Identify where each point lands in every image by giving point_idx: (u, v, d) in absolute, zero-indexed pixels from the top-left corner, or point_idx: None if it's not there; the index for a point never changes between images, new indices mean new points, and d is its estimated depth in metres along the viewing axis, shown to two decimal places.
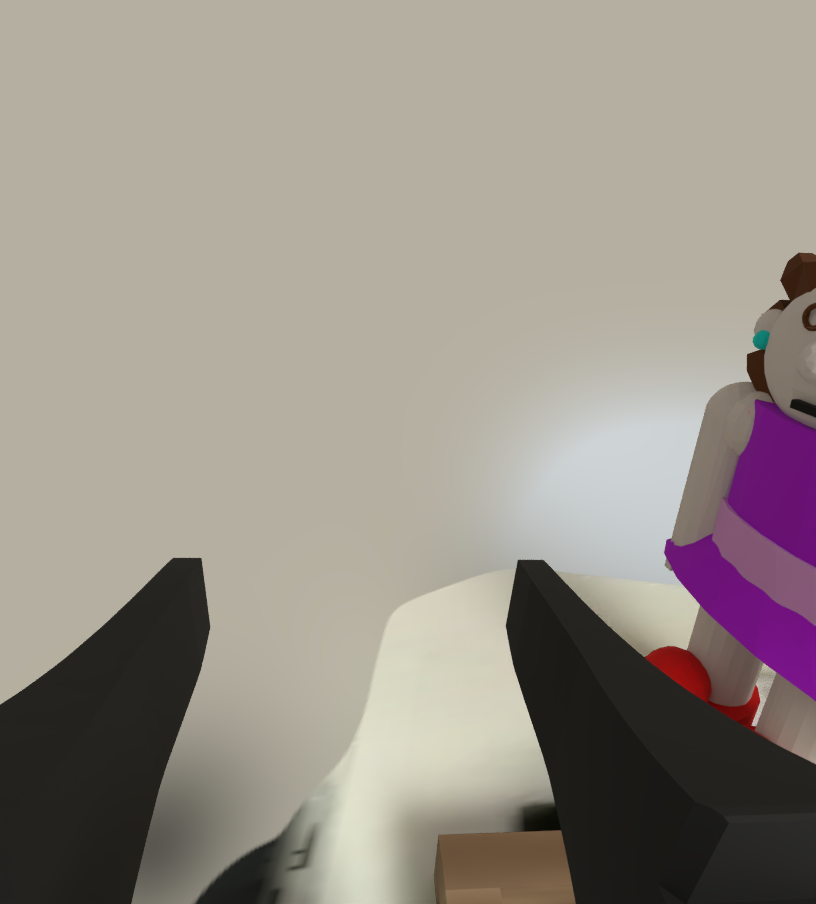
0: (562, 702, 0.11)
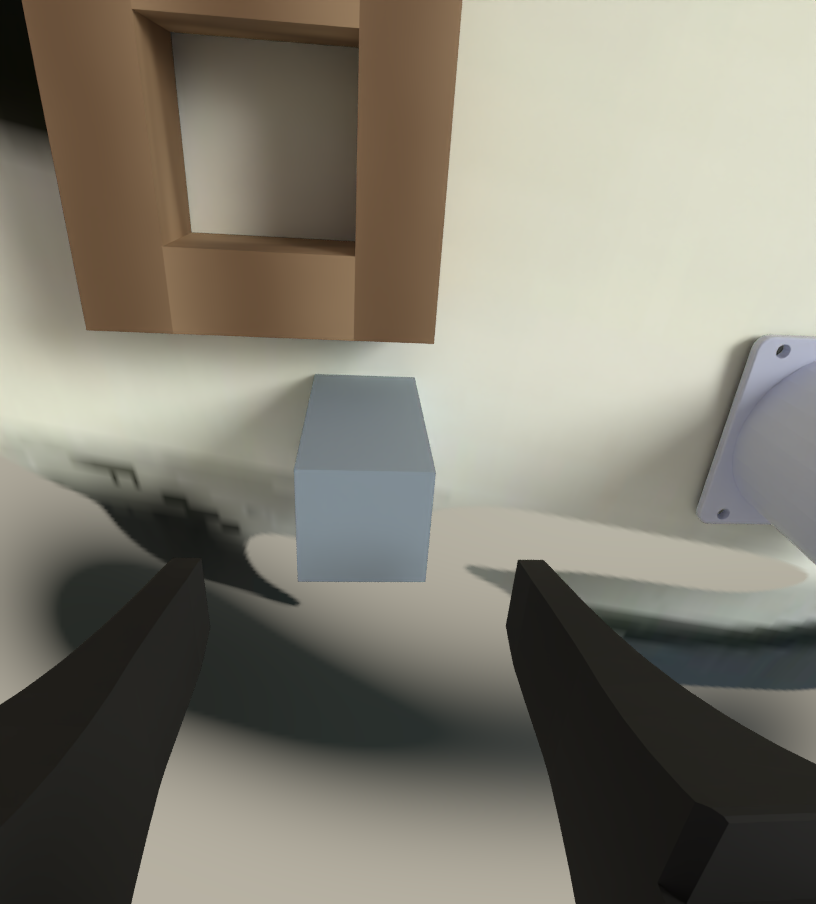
0: (562, 702, 0.11)
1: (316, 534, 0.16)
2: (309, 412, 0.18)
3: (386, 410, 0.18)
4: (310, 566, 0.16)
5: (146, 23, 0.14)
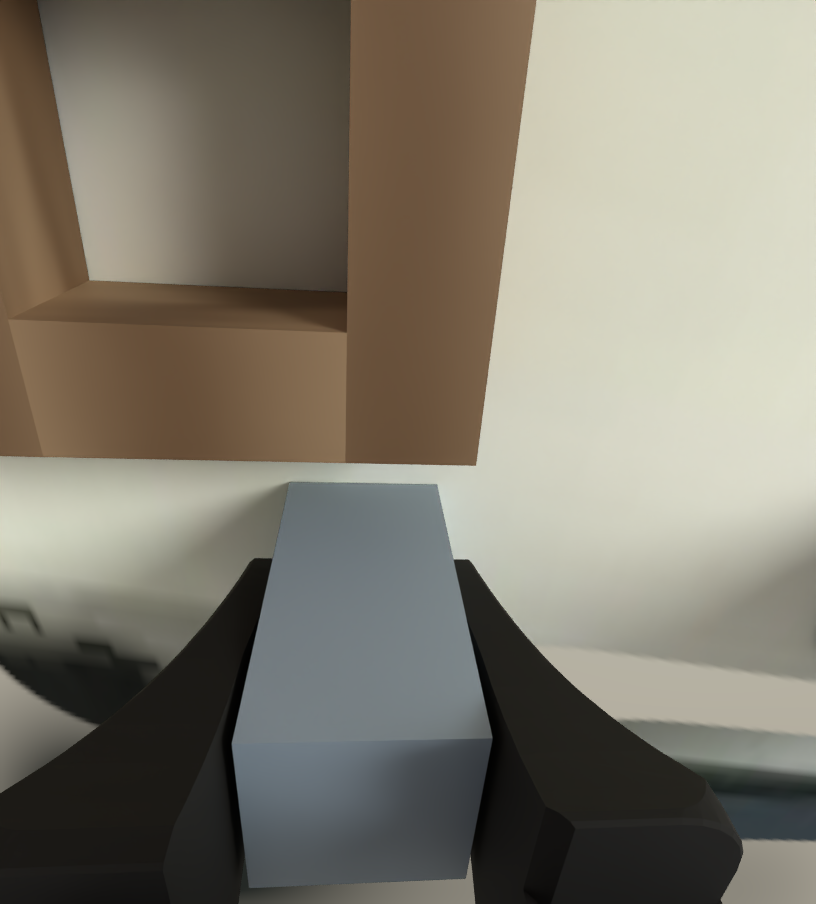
0: None
1: (278, 829, 0.09)
2: (274, 573, 0.11)
3: (397, 563, 0.12)
4: (269, 868, 0.09)
5: None
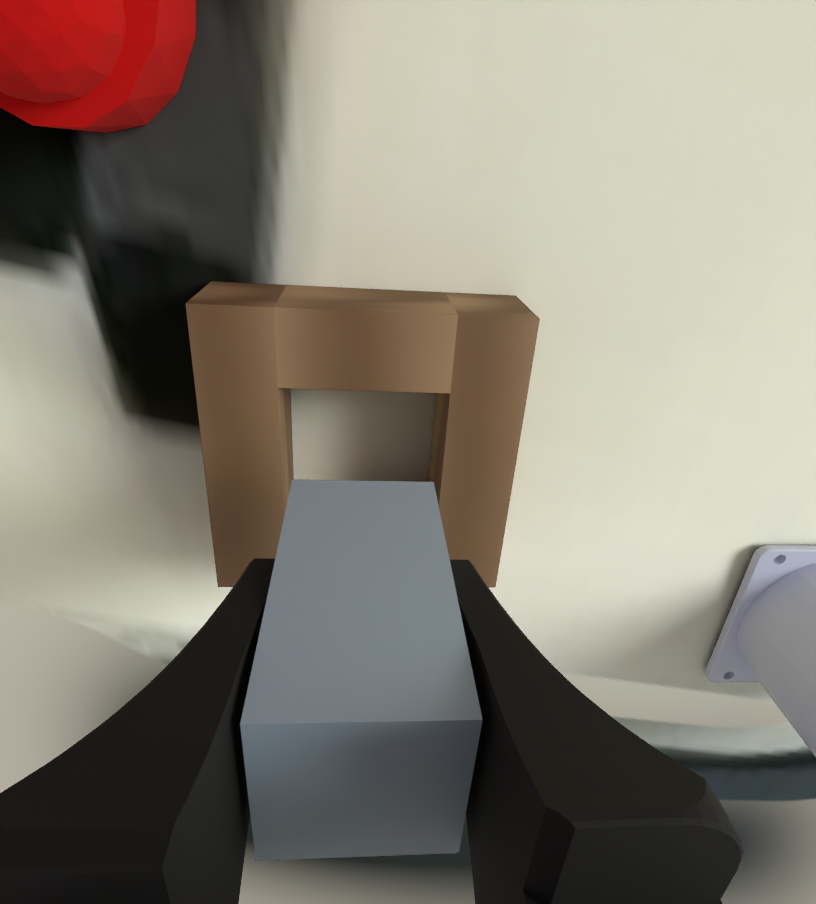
0: None
1: (283, 805, 0.09)
2: (278, 566, 0.12)
3: (396, 557, 0.12)
4: (274, 842, 0.10)
5: None
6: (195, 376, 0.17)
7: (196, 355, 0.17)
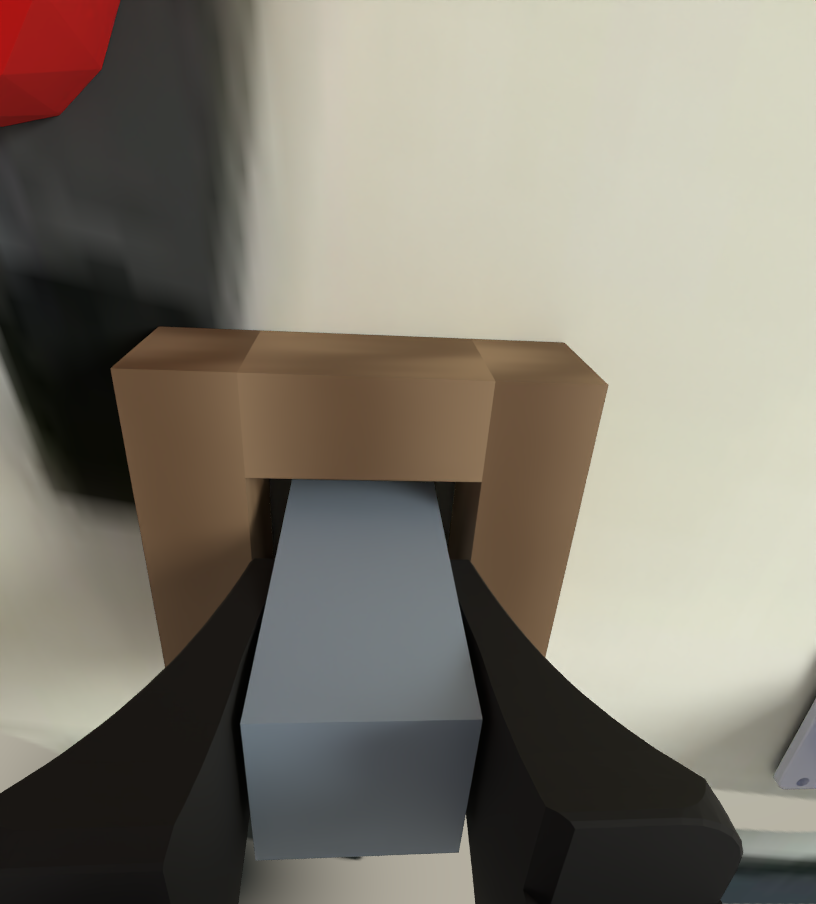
0: None
1: (283, 804, 0.09)
2: (278, 566, 0.12)
3: (395, 557, 0.12)
4: (274, 842, 0.10)
5: None
6: (131, 462, 0.12)
7: (130, 437, 0.12)
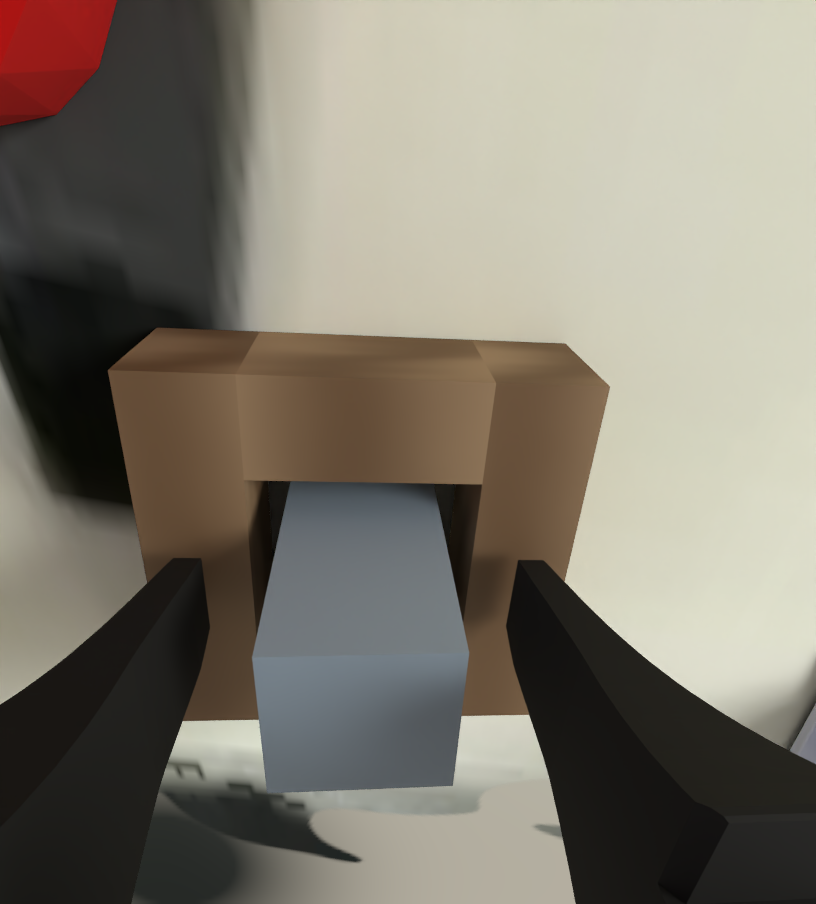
0: (562, 702, 0.11)
1: (291, 737, 0.10)
2: (283, 530, 0.13)
3: (392, 521, 0.13)
4: (284, 774, 0.11)
5: None
6: (128, 464, 0.12)
7: (128, 439, 0.12)
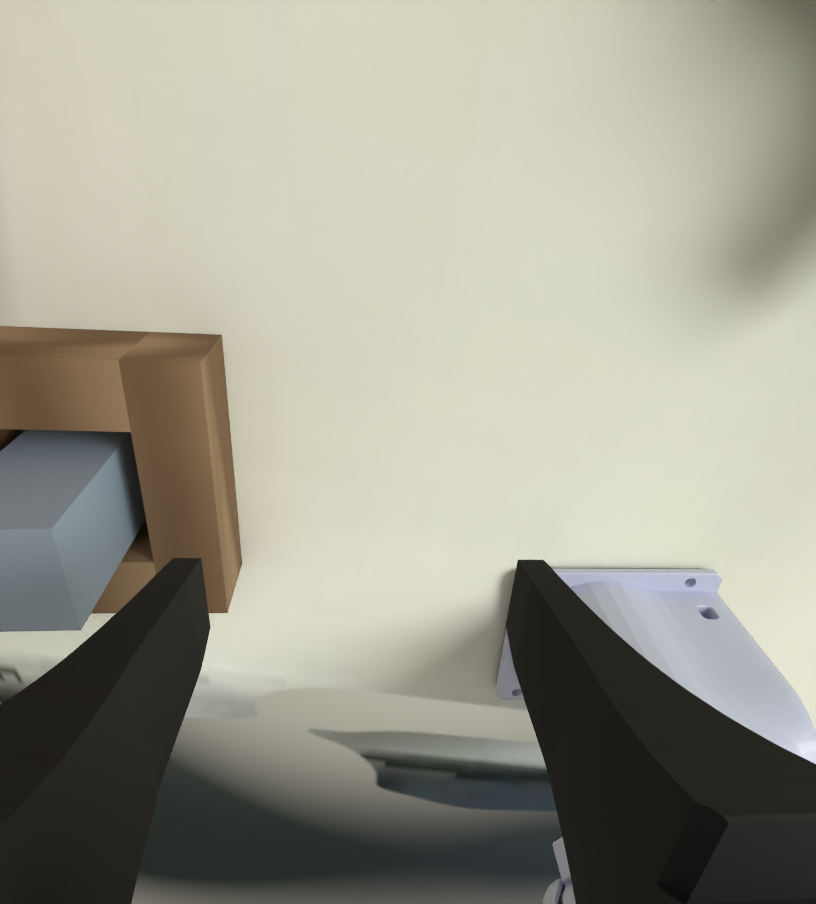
0: (562, 702, 0.11)
1: None
2: None
3: (72, 459, 0.19)
4: None
5: None
6: None
7: None
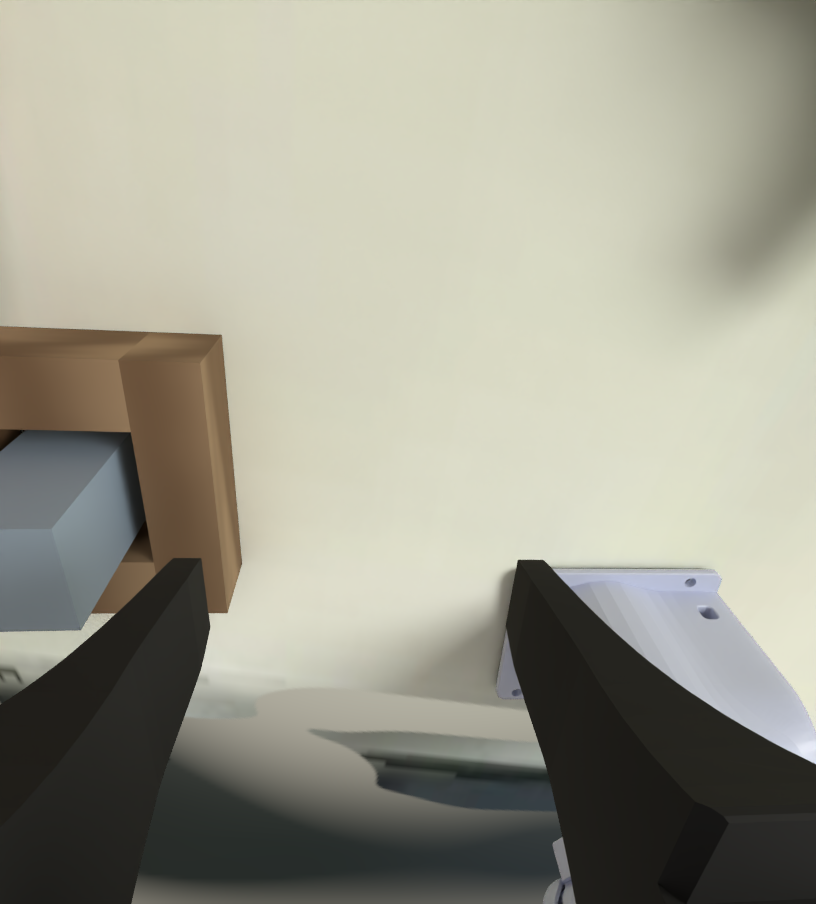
0: (562, 702, 0.11)
1: None
2: None
3: (72, 459, 0.19)
4: None
5: None
6: None
7: None
